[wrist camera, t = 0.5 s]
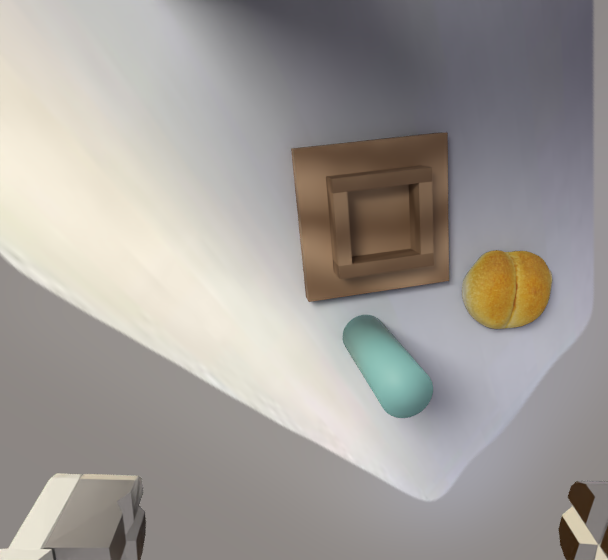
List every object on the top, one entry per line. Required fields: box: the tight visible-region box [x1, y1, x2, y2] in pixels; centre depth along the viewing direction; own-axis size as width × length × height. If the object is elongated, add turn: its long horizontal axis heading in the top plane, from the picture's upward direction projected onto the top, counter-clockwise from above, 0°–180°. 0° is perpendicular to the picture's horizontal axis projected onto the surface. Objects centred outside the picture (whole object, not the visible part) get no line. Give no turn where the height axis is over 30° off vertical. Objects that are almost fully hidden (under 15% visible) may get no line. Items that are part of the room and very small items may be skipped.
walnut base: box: [291, 133, 449, 302], centre depth 46 cm, size 14×14×4 cm
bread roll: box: [462, 250, 552, 329], centre depth 51 cm, size 8×9×4 cm
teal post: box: [343, 315, 433, 418], centre depth 46 cm, size 4×4×12 cm
